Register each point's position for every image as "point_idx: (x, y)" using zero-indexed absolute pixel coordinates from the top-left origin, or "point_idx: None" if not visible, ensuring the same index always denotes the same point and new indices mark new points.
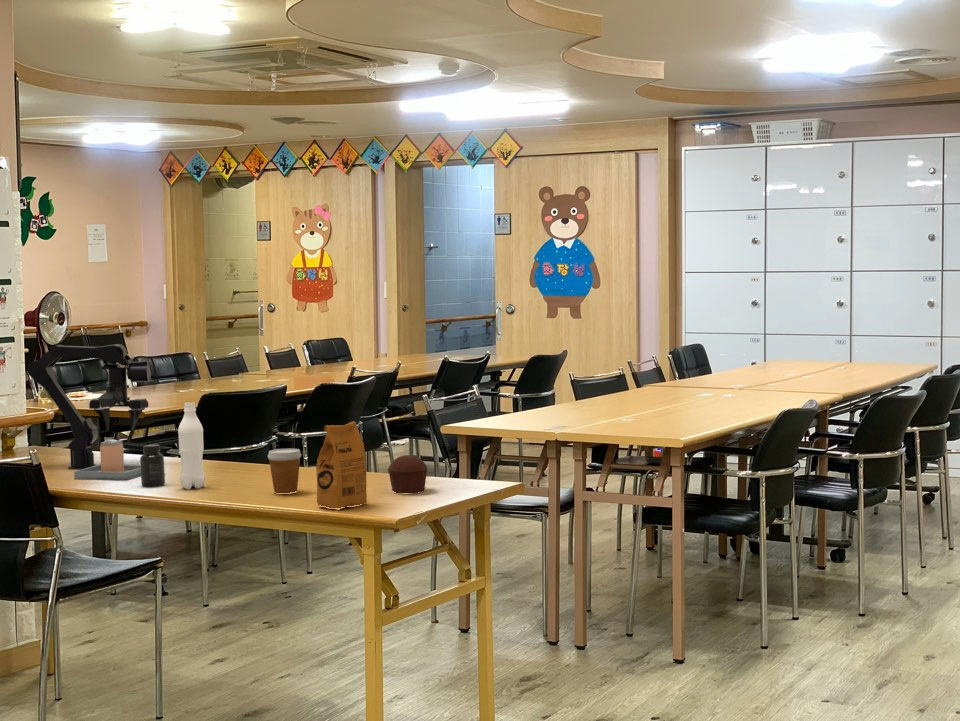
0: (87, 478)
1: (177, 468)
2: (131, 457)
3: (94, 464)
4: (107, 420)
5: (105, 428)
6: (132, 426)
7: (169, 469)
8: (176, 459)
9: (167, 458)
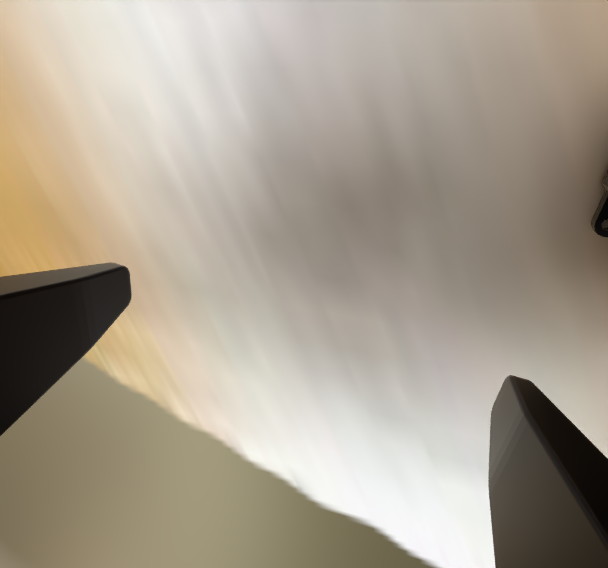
0: None
1: (23, 102)
2: (429, 501)
3: (606, 230)
4: (527, 555)
5: (539, 390)
6: (60, 271)
7: (39, 63)
8: (180, 387)
9: (233, 423)
